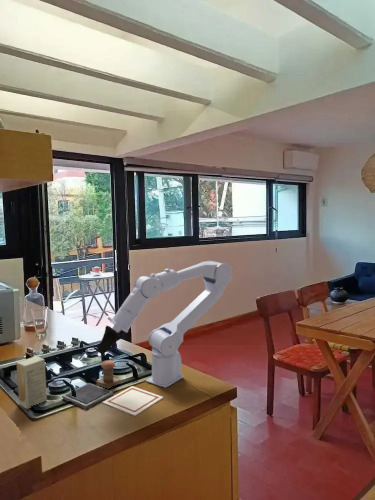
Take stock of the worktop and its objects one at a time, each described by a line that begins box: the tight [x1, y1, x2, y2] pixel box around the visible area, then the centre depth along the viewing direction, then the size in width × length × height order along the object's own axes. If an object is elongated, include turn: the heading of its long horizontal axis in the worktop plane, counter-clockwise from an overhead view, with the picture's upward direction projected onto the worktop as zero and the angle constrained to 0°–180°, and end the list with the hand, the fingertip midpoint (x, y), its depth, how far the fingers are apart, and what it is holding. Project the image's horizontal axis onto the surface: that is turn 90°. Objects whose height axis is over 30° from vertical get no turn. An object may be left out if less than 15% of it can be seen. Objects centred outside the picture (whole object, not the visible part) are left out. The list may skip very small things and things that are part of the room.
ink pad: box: [61, 382, 114, 410], centre depth 111 cm, size 10×10×1 cm
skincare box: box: [16, 355, 48, 410], centre depth 107 cm, size 6×4×12 cm
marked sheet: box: [102, 386, 164, 417], centre depth 110 cm, size 12×12×1 cm
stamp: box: [96, 360, 121, 390], centre depth 119 cm, size 5×5×7 cm
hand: (101, 351), depth 112 cm, fingers open, 7 cm apart
